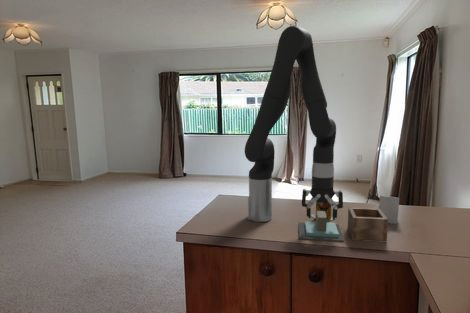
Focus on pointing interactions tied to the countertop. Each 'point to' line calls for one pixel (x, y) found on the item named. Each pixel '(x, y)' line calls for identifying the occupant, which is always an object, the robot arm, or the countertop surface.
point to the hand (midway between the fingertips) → (321, 218)
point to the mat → (303, 236)
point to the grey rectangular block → (390, 208)
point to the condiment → (324, 209)
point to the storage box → (367, 224)
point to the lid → (321, 226)
